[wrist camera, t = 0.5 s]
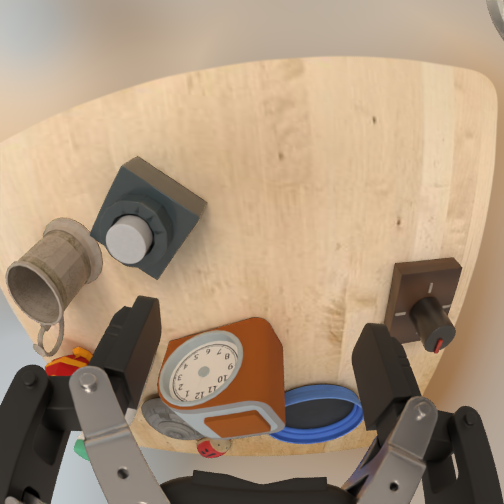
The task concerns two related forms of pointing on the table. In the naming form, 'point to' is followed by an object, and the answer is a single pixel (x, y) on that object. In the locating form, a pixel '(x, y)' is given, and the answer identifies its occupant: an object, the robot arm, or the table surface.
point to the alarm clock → (227, 380)
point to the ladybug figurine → (212, 447)
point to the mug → (54, 275)
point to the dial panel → (419, 292)
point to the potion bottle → (69, 363)
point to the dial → (432, 324)
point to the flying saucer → (167, 421)
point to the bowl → (319, 414)
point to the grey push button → (129, 239)
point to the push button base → (150, 212)
